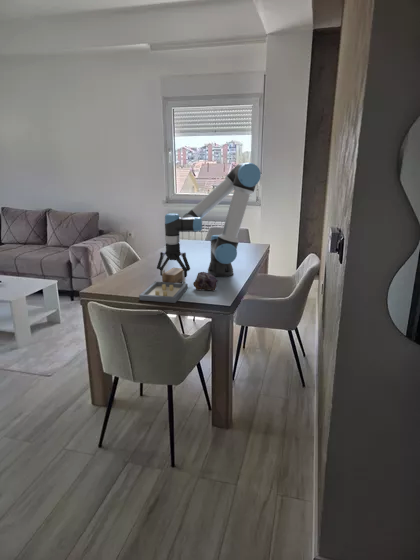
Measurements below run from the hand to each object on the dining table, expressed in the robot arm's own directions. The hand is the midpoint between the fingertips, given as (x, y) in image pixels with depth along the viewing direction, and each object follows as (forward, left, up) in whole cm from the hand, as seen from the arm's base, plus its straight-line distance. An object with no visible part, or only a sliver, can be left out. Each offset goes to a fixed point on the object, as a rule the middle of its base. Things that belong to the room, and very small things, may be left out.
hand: (173, 281), depth 210 cm
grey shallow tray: (-1, +19, 0) cm, 19 cm away
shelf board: (0, 0, 0) cm, 0 cm away
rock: (-20, +7, 0) cm, 21 cm away
